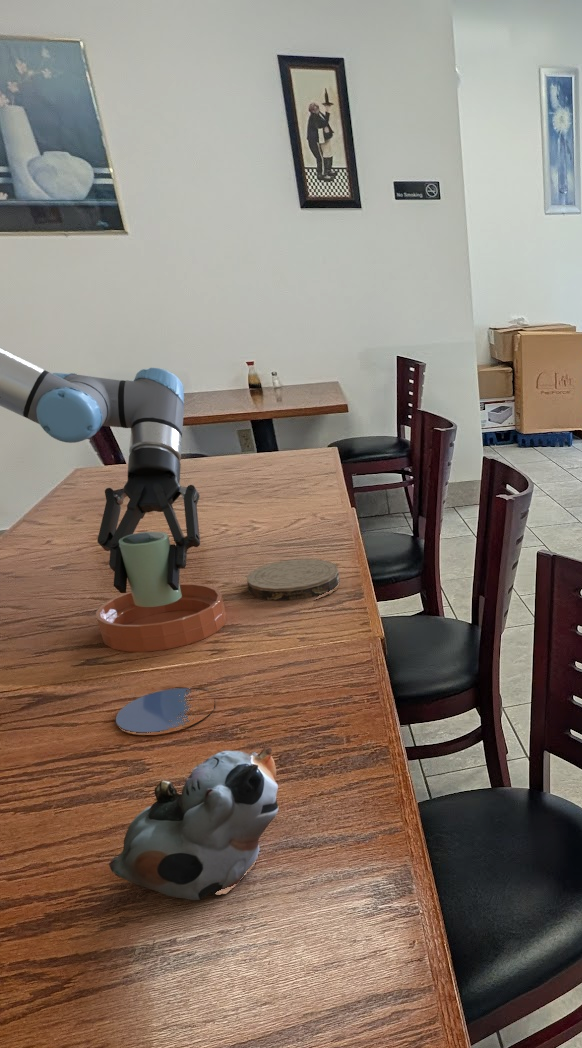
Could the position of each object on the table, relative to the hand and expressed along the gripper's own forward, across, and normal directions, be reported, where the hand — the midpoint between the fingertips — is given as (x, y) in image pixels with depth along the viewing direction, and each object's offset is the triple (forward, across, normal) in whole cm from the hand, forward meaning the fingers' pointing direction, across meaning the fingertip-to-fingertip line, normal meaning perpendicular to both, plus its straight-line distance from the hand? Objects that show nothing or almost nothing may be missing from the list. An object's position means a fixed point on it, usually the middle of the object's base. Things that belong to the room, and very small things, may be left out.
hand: (146, 587), depth 125 cm
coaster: (+24, -8, +11) cm, 27 cm away
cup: (0, 0, -5) cm, 5 cm away
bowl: (+4, 0, -9) cm, 10 cm away
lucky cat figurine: (+46, -21, +34) cm, 61 cm away
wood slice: (-8, -18, -21) cm, 29 cm away
